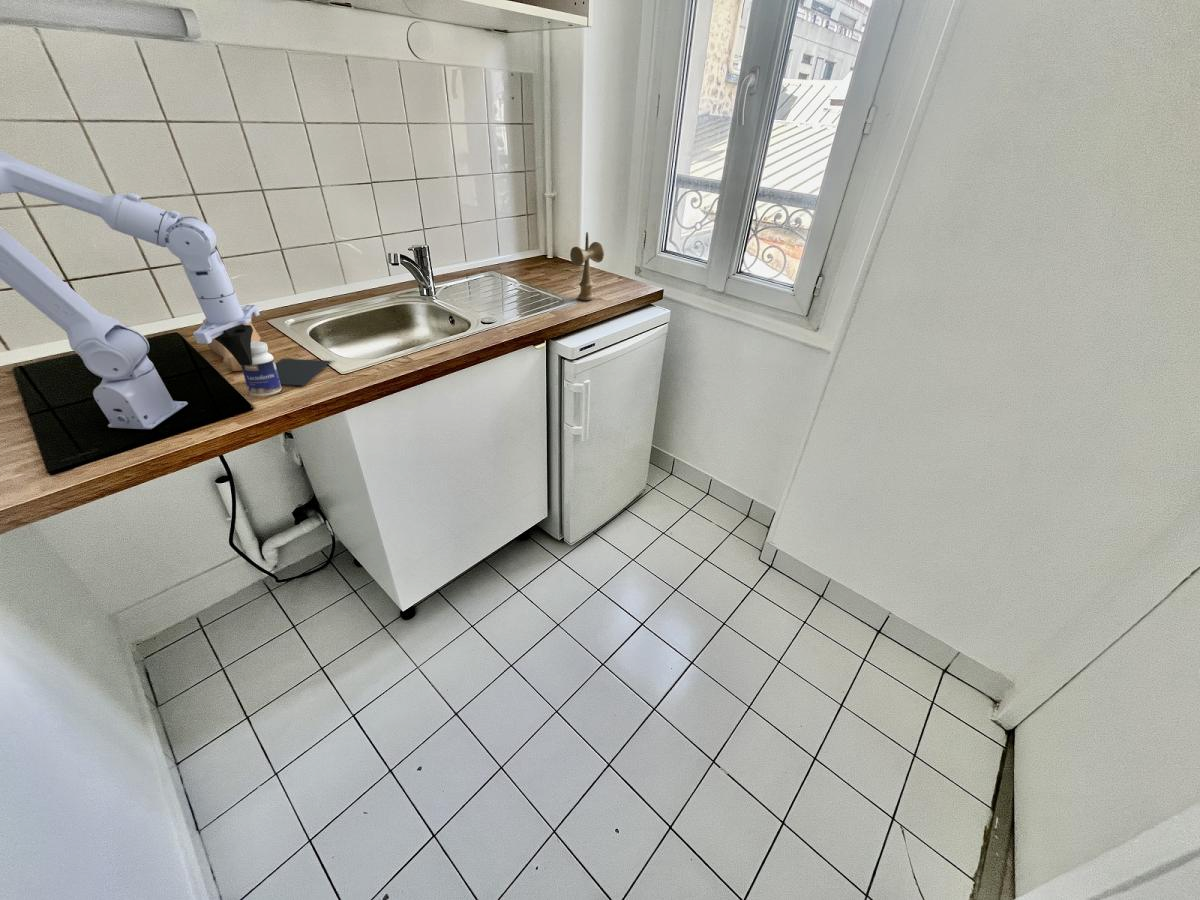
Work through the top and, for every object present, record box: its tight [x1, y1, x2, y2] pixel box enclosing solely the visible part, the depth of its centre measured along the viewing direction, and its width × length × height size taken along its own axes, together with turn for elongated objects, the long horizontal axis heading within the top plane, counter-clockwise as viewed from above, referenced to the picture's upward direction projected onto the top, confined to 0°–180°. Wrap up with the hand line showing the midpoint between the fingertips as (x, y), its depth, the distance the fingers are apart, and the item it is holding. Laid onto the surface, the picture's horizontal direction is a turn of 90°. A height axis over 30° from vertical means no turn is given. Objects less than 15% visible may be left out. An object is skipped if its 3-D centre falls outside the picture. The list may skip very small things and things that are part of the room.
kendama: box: [570, 231, 605, 301], centre depth 149 cm, size 6×10×20 cm, turn 135°
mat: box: [275, 358, 331, 388], centre depth 107 cm, size 12×11×1 cm
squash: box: [202, 318, 262, 372], centre depth 111 cm, size 11×20×9 cm, turn 39°
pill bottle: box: [241, 341, 283, 397], centre depth 97 cm, size 6×6×10 cm
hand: (246, 364), depth 94 cm, fingers closed, pressing on pill bottle
